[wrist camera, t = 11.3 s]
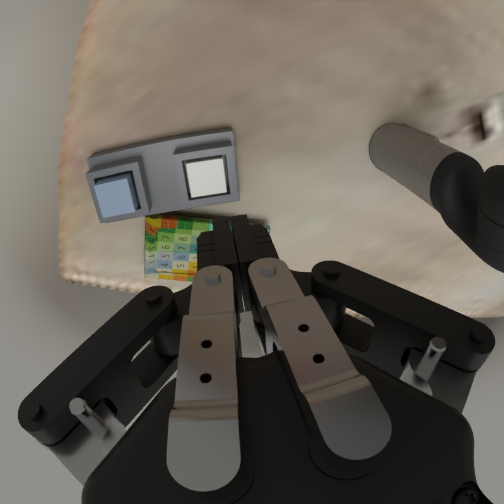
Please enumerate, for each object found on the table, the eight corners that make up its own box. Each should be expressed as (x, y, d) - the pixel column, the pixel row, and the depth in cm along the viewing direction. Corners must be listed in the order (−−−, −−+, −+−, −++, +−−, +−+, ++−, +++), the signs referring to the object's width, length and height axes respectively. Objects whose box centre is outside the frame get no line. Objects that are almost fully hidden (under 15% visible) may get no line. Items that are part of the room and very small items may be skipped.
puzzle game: (256, 288, 56) (144, 280, 51) (252, 273, 59) (147, 265, 55) (271, 231, 50) (144, 219, 45) (266, 218, 53) (149, 206, 49)
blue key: (131, 171, 40) (126, 178, 38) (138, 203, 43) (135, 211, 40) (99, 178, 40) (93, 185, 37) (108, 209, 42) (103, 218, 40)
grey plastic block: (231, 127, 44) (235, 134, 39) (237, 193, 50) (242, 208, 45) (93, 153, 42) (80, 164, 37) (109, 215, 48) (100, 232, 43)
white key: (221, 153, 43) (222, 158, 40) (225, 184, 45) (226, 192, 43) (186, 158, 42) (185, 164, 40) (191, 189, 45) (191, 197, 42)
